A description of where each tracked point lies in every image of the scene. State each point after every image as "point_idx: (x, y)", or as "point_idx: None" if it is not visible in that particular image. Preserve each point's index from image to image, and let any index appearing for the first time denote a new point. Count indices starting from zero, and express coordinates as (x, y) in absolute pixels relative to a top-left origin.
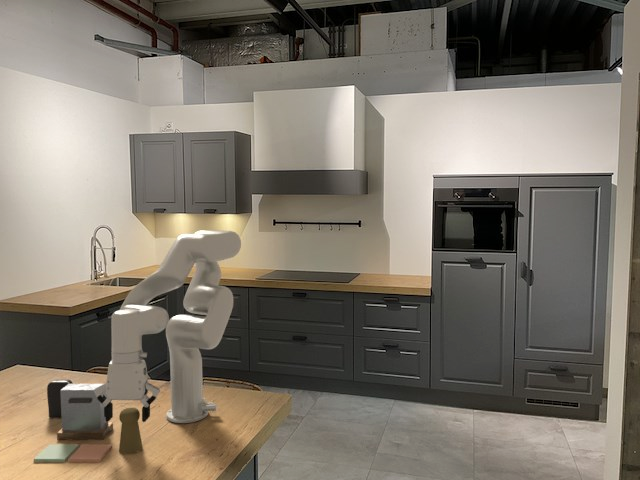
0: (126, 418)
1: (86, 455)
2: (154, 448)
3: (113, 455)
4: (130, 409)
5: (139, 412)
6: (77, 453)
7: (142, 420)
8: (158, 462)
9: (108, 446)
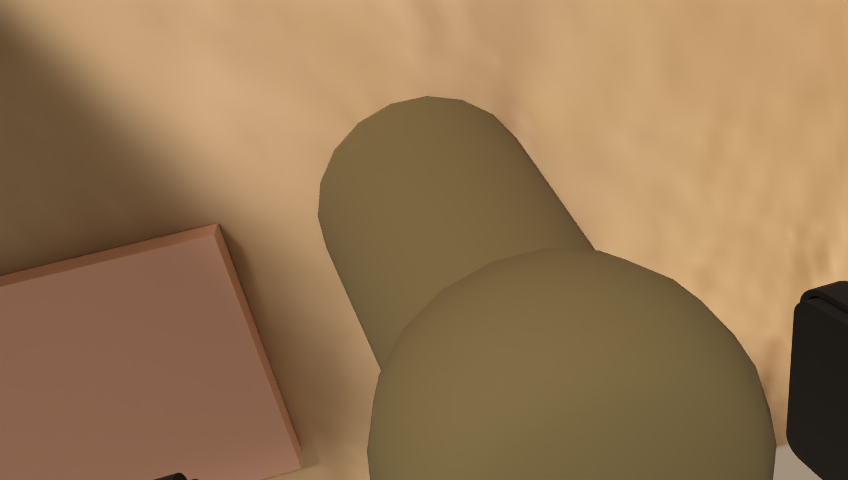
0: None
1: (140, 464)
2: (641, 144)
3: (342, 343)
4: None
5: (744, 352)
6: (19, 463)
7: (805, 456)
8: (738, 335)
9: (213, 280)
